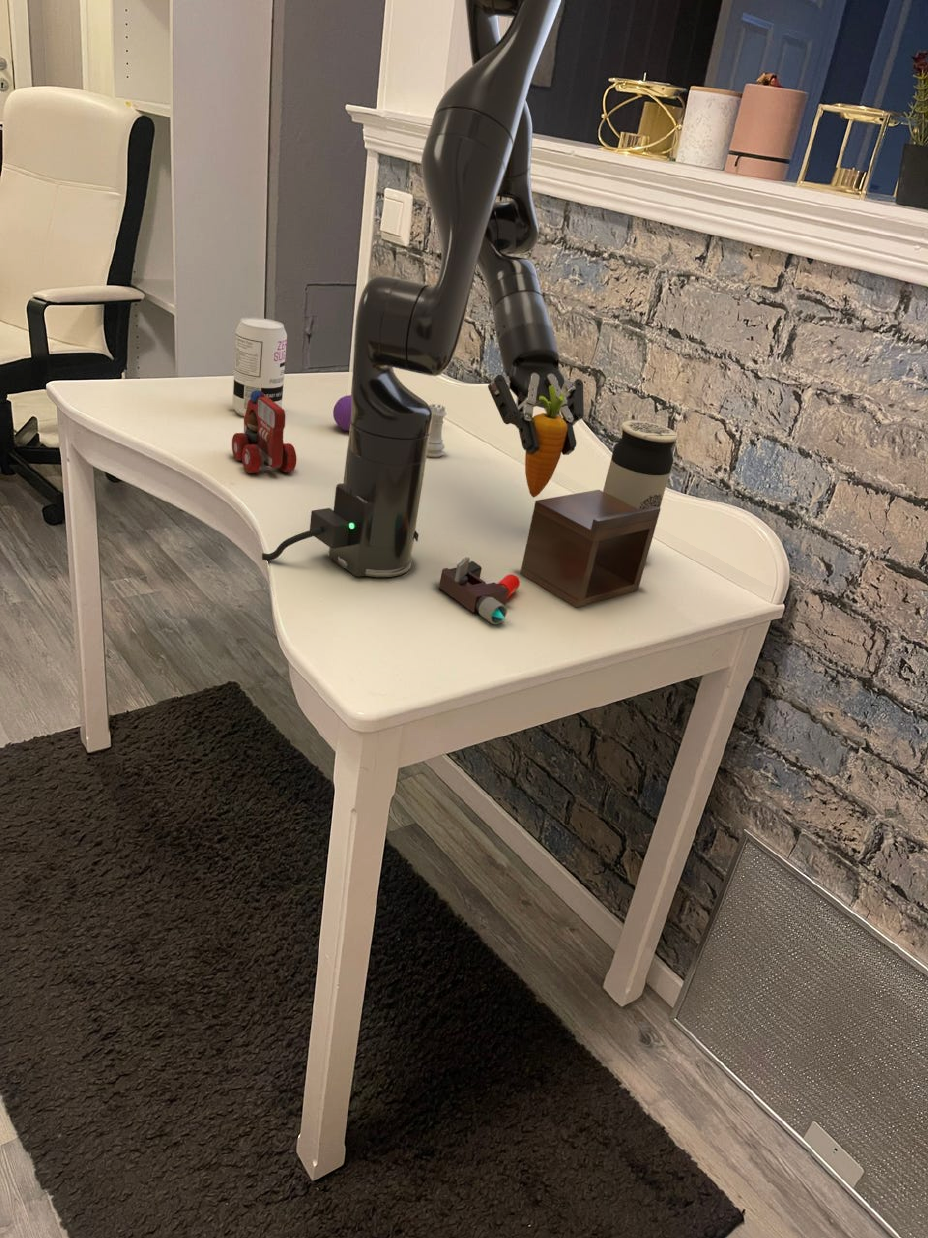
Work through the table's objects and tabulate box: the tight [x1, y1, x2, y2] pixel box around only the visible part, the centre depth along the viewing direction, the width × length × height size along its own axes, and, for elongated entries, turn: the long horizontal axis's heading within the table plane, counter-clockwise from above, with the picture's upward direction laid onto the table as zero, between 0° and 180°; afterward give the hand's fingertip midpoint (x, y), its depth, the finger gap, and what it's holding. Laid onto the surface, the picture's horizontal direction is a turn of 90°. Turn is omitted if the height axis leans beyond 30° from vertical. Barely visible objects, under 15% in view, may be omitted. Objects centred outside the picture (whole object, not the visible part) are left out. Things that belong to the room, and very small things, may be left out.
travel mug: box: [602, 420, 679, 510], centre depth 127 cm, size 8×8×18 cm
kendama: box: [332, 394, 352, 432], centre depth 163 cm, size 6×6×20 cm
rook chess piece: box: [426, 403, 447, 459], centre depth 154 cm, size 4×4×8 cm
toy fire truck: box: [231, 390, 297, 474], centre depth 136 cm, size 7×12×10 cm, turn 30°
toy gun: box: [438, 557, 521, 625], centre depth 111 cm, size 10×12×5 cm
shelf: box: [519, 489, 661, 609], centre depth 118 cm, size 12×10×11 cm
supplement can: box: [231, 317, 288, 417], centre depth 156 cm, size 8×8×15 cm
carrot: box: [524, 385, 567, 498], centre depth 124 cm, size 5×5×15 cm
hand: (551, 451), depth 123 cm, fingers closed on carrot, 5 cm apart
